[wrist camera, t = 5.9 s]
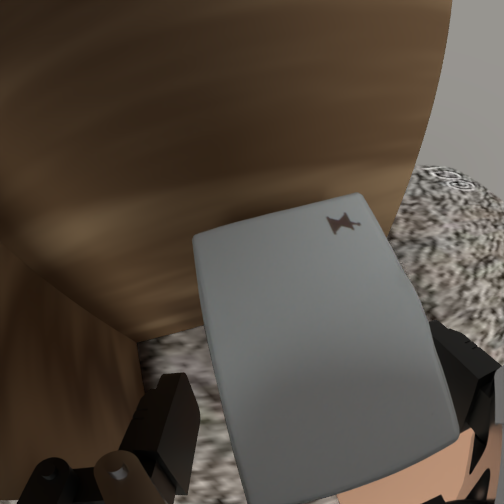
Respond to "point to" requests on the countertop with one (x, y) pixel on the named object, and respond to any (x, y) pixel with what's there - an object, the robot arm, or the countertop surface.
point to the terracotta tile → (419, 479)
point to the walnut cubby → (173, 174)
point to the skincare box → (319, 352)
